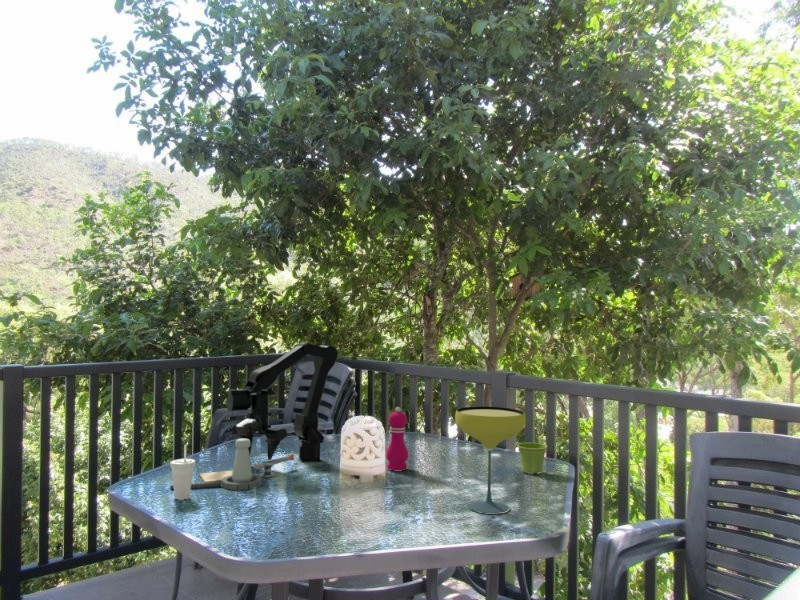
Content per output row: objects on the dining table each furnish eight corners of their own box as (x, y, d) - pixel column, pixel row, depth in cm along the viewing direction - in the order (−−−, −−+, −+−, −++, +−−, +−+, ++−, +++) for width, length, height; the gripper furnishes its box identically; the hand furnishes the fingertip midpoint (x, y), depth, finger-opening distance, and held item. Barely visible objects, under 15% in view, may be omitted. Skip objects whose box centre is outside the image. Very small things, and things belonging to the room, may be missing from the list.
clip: (288, 458, 201) (288, 453, 201) (296, 459, 200) (296, 454, 200) (252, 468, 187) (252, 463, 187) (261, 470, 185) (261, 465, 185)
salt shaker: (246, 487, 176) (247, 441, 177) (227, 486, 178) (229, 440, 178) (255, 482, 182) (256, 437, 183) (237, 481, 183) (238, 436, 184)
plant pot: (539, 477, 194) (539, 449, 194) (511, 472, 199) (512, 445, 200) (551, 472, 201) (552, 445, 201) (524, 467, 207) (525, 441, 207)
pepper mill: (409, 467, 205) (410, 405, 205) (407, 472, 197) (408, 408, 198) (387, 466, 205) (388, 405, 206) (384, 471, 198) (385, 408, 199)
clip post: (274, 473, 193) (274, 464, 193) (276, 477, 188) (276, 468, 188) (258, 474, 192) (258, 465, 192) (259, 478, 187) (260, 469, 187)
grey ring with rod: (259, 478, 187) (260, 473, 187) (263, 488, 176) (263, 482, 176) (171, 483, 179) (171, 478, 179) (169, 494, 169) (169, 488, 169)
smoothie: (189, 501, 162) (191, 447, 163) (165, 501, 162) (166, 447, 163) (198, 494, 169) (199, 442, 169) (174, 494, 169) (175, 442, 169)
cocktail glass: (539, 513, 158) (540, 414, 159) (482, 523, 149) (483, 418, 150) (494, 494, 174) (495, 404, 175) (440, 503, 165) (442, 408, 166)
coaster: (232, 472, 193) (232, 470, 193) (240, 480, 185) (240, 478, 185) (199, 475, 189) (199, 473, 189) (205, 483, 180) (205, 481, 180)
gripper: (220, 409, 199) (218, 459, 199) (264, 415, 190) (263, 466, 189) (244, 405, 209) (243, 452, 208) (288, 410, 200) (287, 459, 199)
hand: (258, 458), depth 201 cm, fingers open, 9 cm apart
